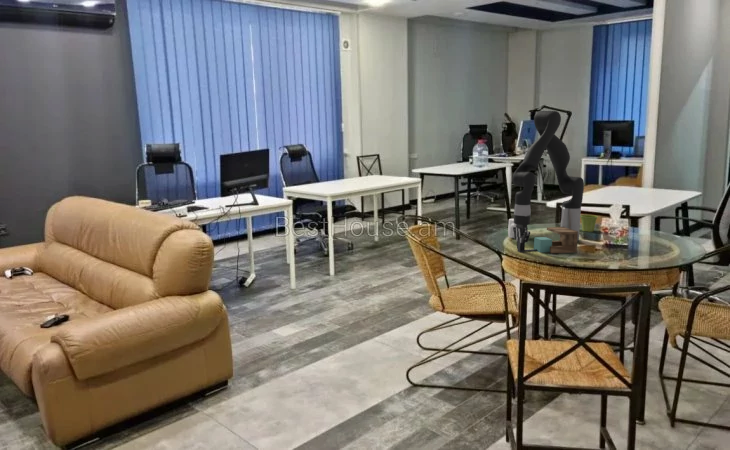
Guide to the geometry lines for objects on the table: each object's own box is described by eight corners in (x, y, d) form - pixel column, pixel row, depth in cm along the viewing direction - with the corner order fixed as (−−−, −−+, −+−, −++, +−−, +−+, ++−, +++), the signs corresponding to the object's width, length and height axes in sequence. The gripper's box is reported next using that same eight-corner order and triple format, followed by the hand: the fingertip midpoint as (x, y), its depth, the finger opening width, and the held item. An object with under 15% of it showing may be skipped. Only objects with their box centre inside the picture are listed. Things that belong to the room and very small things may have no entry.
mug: (512, 217, 307) (526, 219, 303) (511, 234, 309) (525, 235, 305) (504, 220, 298) (519, 222, 293) (503, 238, 299) (518, 239, 295)
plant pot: (575, 230, 321) (576, 215, 319) (589, 229, 323) (590, 214, 322) (586, 233, 312) (587, 217, 310) (600, 232, 315) (601, 216, 313)
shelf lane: (538, 247, 275) (539, 227, 273) (562, 246, 277) (563, 226, 276) (551, 253, 263) (552, 232, 261) (576, 252, 265) (577, 231, 263)
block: (515, 250, 269) (516, 236, 268) (545, 249, 272) (545, 235, 271) (521, 253, 264) (522, 238, 262) (551, 251, 266) (552, 237, 265)
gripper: (508, 211, 269) (506, 246, 272) (521, 216, 256) (520, 253, 259) (522, 211, 271) (521, 246, 274) (536, 215, 257) (534, 252, 260)
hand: (520, 249), depth 266 cm, fingers closed on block, 2 cm apart
